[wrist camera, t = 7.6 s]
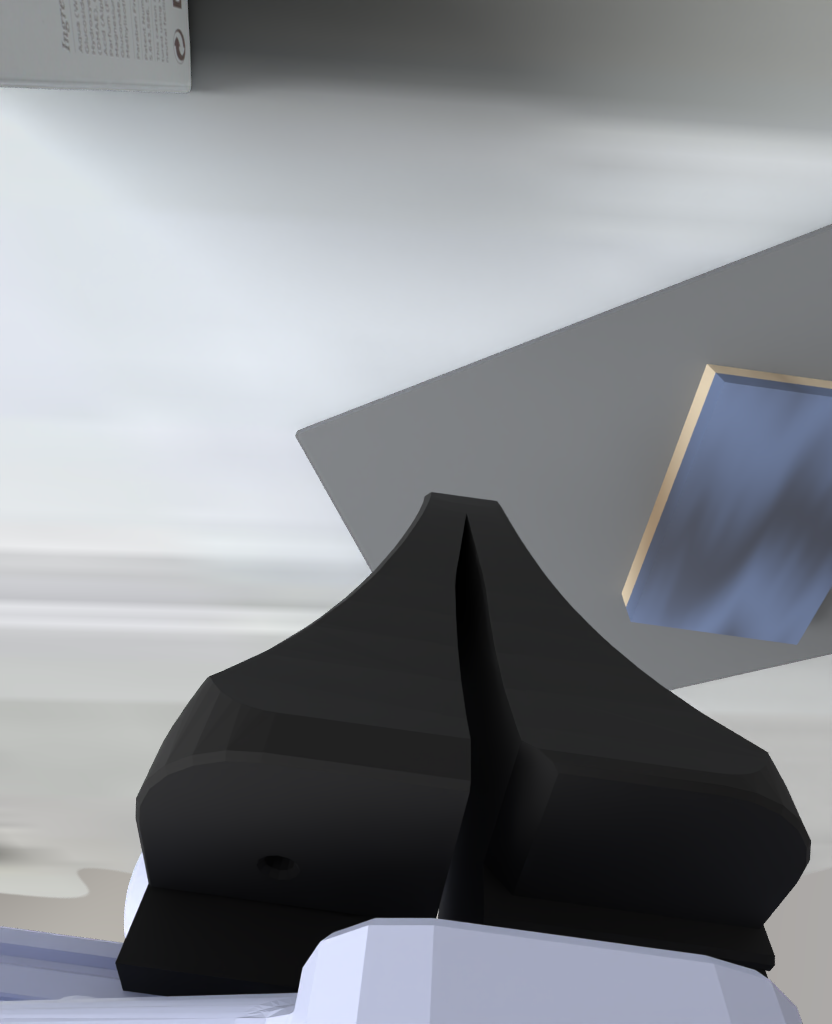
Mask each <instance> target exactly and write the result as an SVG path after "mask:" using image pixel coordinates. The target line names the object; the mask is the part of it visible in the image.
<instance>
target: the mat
mask: <svg viewBox="0 0 832 1024" xmlns="http://www.w3.org/2000/svg"><path fill="white" fill-rule="evenodd" d="M707 364H712V365H719V366H726V367H733V368H740V369H748V370H755V371H762V372H769V373H776V374H784V375H791V376H798V377H805V378H812V379H819V380H827V381H832V224H831V225H828V226H826V227H823V228H820V229H818V230H815V231H813V232H810V233H808V234H805V235H802V236H800V237H797V238H795V239H792V240H789V241H787V242H784V243H782V244H779V245H777V246H774V247H771V248H769V249H766V250H764V251H761V252H758V253H756V254H753V255H751V256H748V257H745V258H743V259H740V260H738V261H735V262H733V263H730V264H727V265H725V266H722V267H720V268H717V269H714V270H712V271H709V272H707V273H704V274H702V275H699V276H696V277H694V278H691V279H689V280H686V281H683V282H681V283H678V284H676V285H673V286H671V287H668V288H665V289H663V290H660V291H658V292H655V293H652V294H650V295H647V296H645V297H642V298H639V299H637V300H634V301H632V302H629V303H627V304H624V305H621V306H619V307H616V308H614V309H611V310H608V311H606V312H603V313H601V314H598V315H596V316H593V317H590V318H588V319H585V320H583V321H580V322H577V323H575V324H572V325H570V326H567V327H565V328H562V329H559V330H557V331H554V332H552V333H549V334H546V335H544V336H541V337H539V338H536V339H533V340H531V341H528V342H526V343H523V344H521V345H518V346H515V347H513V348H510V349H508V350H505V351H502V352H500V353H497V354H495V355H492V356H490V357H487V358H484V359H482V360H479V361H477V362H474V363H471V364H469V365H466V366H464V367H461V368H459V369H456V370H453V371H451V372H448V373H446V374H443V375H440V376H438V377H435V378H433V379H430V380H427V381H425V382H422V383H420V384H417V385H415V386H412V387H409V388H407V389H404V390H402V391H399V392H396V393H394V394H391V395H389V396H386V397H384V398H381V399H378V400H376V401H373V402H371V403H368V404H365V405H363V406H360V407H358V408H355V409H352V410H350V411H347V412H345V413H342V414H340V415H337V416H334V417H332V418H329V419H327V420H324V421H321V422H319V423H316V424H314V425H311V426H309V427H306V428H303V429H301V430H298V431H297V433H296V435H295V436H296V438H297V440H298V442H299V443H300V445H301V447H302V449H303V450H304V452H305V454H306V456H307V458H308V459H309V461H310V463H311V465H312V466H313V468H314V470H315V472H316V474H317V475H318V477H319V479H320V481H321V482H322V484H323V486H324V488H325V490H326V491H327V493H328V495H329V497H330V498H331V500H332V502H333V504H334V506H335V507H336V509H337V511H338V513H339V514H340V516H341V518H342V520H343V522H344V523H345V525H346V527H347V529H348V530H349V532H350V534H351V536H352V537H353V539H354V541H355V543H356V545H357V546H358V548H359V550H360V552H361V553H362V555H363V557H364V559H365V561H366V562H367V564H368V566H369V568H370V569H371V571H372V572H373V571H374V570H375V569H376V568H377V567H378V566H379V565H380V564H381V562H382V561H383V560H384V559H385V558H386V557H387V556H388V554H389V553H390V552H391V551H392V550H393V549H394V547H395V546H396V545H397V544H398V542H399V541H400V539H401V538H402V537H403V535H404V534H405V532H406V531H407V530H408V528H409V527H410V525H411V524H412V522H413V521H414V519H415V517H416V516H417V514H418V512H419V510H420V508H421V506H422V504H423V501H424V496H426V495H428V494H429V493H431V492H436V493H443V494H450V495H457V496H465V497H472V498H479V499H486V500H493V501H498V503H499V504H500V506H501V507H502V509H503V510H504V512H505V514H506V516H507V517H508V519H509V521H510V522H511V524H512V526H513V527H514V529H515V531H516V532H517V534H518V535H519V537H520V539H521V540H522V542H523V543H524V545H525V546H526V548H527V549H528V551H529V552H530V554H531V555H532V557H533V558H534V559H535V561H536V562H537V564H538V565H539V566H540V568H541V569H542V571H543V572H544V573H545V575H546V576H547V577H548V579H549V580H550V581H551V582H552V584H553V585H554V586H555V587H556V589H557V590H558V591H559V592H560V593H561V595H562V596H563V597H564V598H565V599H566V600H567V601H568V603H569V604H570V605H571V606H572V607H573V608H574V609H575V610H576V611H577V612H578V613H579V614H580V615H581V616H582V617H583V618H584V619H585V620H586V621H587V622H588V623H589V624H590V625H591V626H592V627H593V628H594V629H595V630H596V631H597V632H598V633H599V634H600V635H601V636H602V637H603V638H604V639H605V640H606V641H608V642H609V643H610V644H611V645H612V646H613V647H614V648H616V649H617V650H618V651H619V652H620V653H622V654H623V655H624V656H625V657H626V658H628V659H629V660H630V661H631V662H632V663H634V664H635V665H636V666H637V667H638V668H640V669H641V670H642V671H643V672H645V673H646V674H647V675H649V676H650V677H651V678H653V679H654V680H655V681H657V682H658V683H659V684H661V685H662V686H663V687H665V688H666V689H668V690H673V689H677V688H682V687H686V686H691V685H695V684H700V683H704V682H709V681H713V680H717V679H722V678H726V677H731V676H735V675H740V674H744V673H749V672H753V671H758V670H762V669H767V668H771V667H775V666H780V665H784V664H789V663H793V662H798V661H802V660H807V659H811V658H816V657H820V656H824V655H829V654H832V587H831V588H830V590H829V592H828V594H827V595H826V597H825V599H824V600H823V602H822V604H821V605H820V607H819V609H818V610H817V612H816V614H815V615H814V617H813V619H812V621H811V622H810V624H809V626H808V627H807V629H806V631H805V632H804V634H803V636H802V637H801V639H800V641H799V643H798V644H797V645H795V644H787V643H780V642H773V641H766V640H758V639H751V638H744V637H737V636H729V635H722V634H715V633H708V632H700V631H693V630H686V629H679V628H671V627H664V626H657V625H650V624H643V623H635V622H631V621H630V618H629V615H628V612H627V609H626V606H625V603H624V600H623V597H622V591H623V588H624V585H625V583H626V580H627V577H628V575H629V572H630V569H631V567H632V564H633V561H634V559H635V556H636V553H637V551H638V548H639V545H640V542H641V540H642V537H643V534H644V532H645V529H646V526H647V524H648V521H649V518H650V516H651V513H652V510H653V507H654V505H655V502H656V499H657V497H658V494H659V491H660V489H661V486H662V483H663V481H664V478H665V475H666V473H667V470H668V467H669V464H670V462H671V459H672V456H673V454H674V451H675V448H676V446H677V443H678V440H679V438H680V435H681V432H682V429H683V427H684V424H685V421H686V419H687V416H688V413H689V411H690V408H691V405H692V403H693V400H694V397H695V395H696V392H697V389H698V386H699V384H700V381H701V378H702V376H703V373H704V370H705V368H706V365H707Z"/></svg>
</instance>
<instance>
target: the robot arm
mask: <svg viewBox="0 0 832 1024" xmlns="http://www.w3.org/2000/svg"><path fill="white" fill-rule="evenodd" d="M136 822H137V827H138V832H139V838H140V843H141V848H142V853H141V855H140V857H139V859H138V862H137V864H136V866H135V868H134V871H133V874H132V876H131V879H130V883H129V887H128V891H127V896H126V902H125V913H124V931H125V941H124V943H121V942H113V941H106V940H99V939H91V938H84V937H77V936H69V935H62V934H55V933H47V932H40V931H32V930H25V929H18V928H11V927H3V926H0V1024H803V1023H802V1020H801V1018H800V1015H799V1012H798V1009H797V1007H796V1006H795V1005H794V1004H793V1003H792V1002H791V1000H790V999H789V998H788V997H787V996H786V995H784V993H783V992H782V991H781V990H780V989H779V988H778V987H777V986H776V985H775V984H774V983H773V982H772V981H771V980H770V979H768V977H767V974H766V971H770V970H771V969H772V968H773V967H774V966H775V955H774V953H773V950H772V947H771V944H770V942H769V939H768V936H767V933H766V931H765V928H764V925H763V924H764V923H765V922H766V921H767V919H768V918H769V917H770V916H771V914H772V913H773V912H774V911H775V909H776V908H777V907H778V906H779V904H780V903H781V902H782V901H783V899H784V898H785V897H786V896H787V895H788V893H789V892H790V891H791V890H792V888H793V887H794V886H795V885H796V884H797V882H798V880H799V879H800V877H801V875H802V873H803V871H804V870H805V868H806V866H807V864H808V862H809V861H810V848H811V840H810V838H809V836H808V833H807V831H806V829H805V827H804V825H803V823H802V820H801V818H800V816H799V814H798V811H797V809H796V807H795V805H794V802H793V800H792V798H791V796H790V794H789V791H788V789H787V787H786V785H785V783H784V781H783V779H782V778H781V776H780V774H779V772H778V770H777V768H776V767H775V765H774V763H773V761H772V759H771V758H770V756H769V754H768V752H766V751H765V750H763V749H761V748H760V747H758V746H756V745H755V744H753V743H751V742H750V741H748V740H746V739H745V738H743V737H741V736H740V735H738V734H736V733H734V732H733V731H731V730H729V729H728V728H726V727H724V726H723V725H721V724H719V723H718V722H716V721H714V720H713V719H711V718H709V717H708V716H706V715H704V714H703V713H701V712H700V711H698V710H697V709H695V708H694V707H692V706H691V705H689V704H688V703H686V702H685V701H683V700H682V699H681V698H679V697H678V696H676V695H675V694H673V693H672V692H671V691H669V690H668V689H666V688H665V687H663V686H662V685H661V684H659V683H658V682H657V681H655V680H654V679H653V678H651V677H650V676H649V675H647V674H646V673H645V672H643V671H642V670H641V669H640V668H638V667H637V666H636V665H635V664H634V663H632V662H631V661H630V660H629V659H628V658H626V657H625V656H624V655H623V654H622V653H620V652H619V651H618V650H617V649H616V648H614V647H613V646H612V645H611V644H610V643H609V642H608V641H606V640H605V639H604V638H603V637H602V636H601V635H600V634H599V633H598V632H597V631H596V630H595V629H594V628H593V627H592V626H591V625H590V624H589V623H588V622H587V621H586V620H585V619H584V618H583V617H582V616H581V615H580V614H579V613H578V612H577V611H576V610H575V609H574V608H573V607H572V606H571V605H570V604H569V603H568V601H567V600H566V599H565V598H564V597H563V596H562V595H561V593H560V592H559V591H558V590H557V589H556V587H555V586H554V585H553V584H552V582H551V581H550V580H549V579H548V577H547V576H546V575H545V573H544V572H543V571H542V569H541V568H540V566H539V565H538V564H537V562H536V561H535V559H534V558H533V557H532V555H531V554H530V552H529V551H528V549H527V548H526V546H525V545H524V543H523V542H522V540H521V539H520V537H519V535H518V534H517V532H516V531H515V529H514V527H513V526H512V524H511V522H510V521H509V519H508V517H507V516H506V514H505V512H504V510H503V509H502V507H501V506H500V504H499V503H498V501H493V500H486V499H479V498H472V497H465V496H457V495H450V494H443V493H436V492H431V493H429V494H428V495H426V496H424V501H423V504H422V506H421V508H420V510H419V512H418V514H417V516H416V517H415V519H414V521H413V522H412V524H411V525H410V527H409V528H408V530H407V531H406V532H405V534H404V535H403V537H402V538H401V539H400V541H399V542H398V544H397V545H396V546H395V547H394V549H393V550H392V551H391V552H390V553H389V554H388V556H387V557H386V558H385V559H384V560H383V561H382V562H381V564H380V565H379V566H378V567H377V568H376V569H375V570H374V571H373V572H372V573H371V574H370V575H369V576H368V577H367V578H366V579H365V580H364V581H363V582H362V583H361V584H360V585H359V586H358V587H357V588H356V589H355V590H354V591H353V592H351V593H350V594H349V595H348V596H347V597H346V598H345V599H343V600H342V601H341V602H340V603H338V604H337V605H336V606H334V607H333V608H332V609H331V610H329V611H328V612H327V613H325V614H324V615H323V616H321V617H320V618H319V619H317V620H316V621H314V622H313V623H312V624H310V625H309V626H307V627H306V628H304V629H302V630H301V631H299V632H297V633H296V634H294V635H292V636H291V637H289V638H287V639H286V640H284V641H283V642H281V643H279V644H278V645H276V646H274V647H273V648H271V649H269V650H267V651H265V652H263V653H261V654H259V655H257V656H255V657H252V658H250V659H248V660H246V661H244V662H241V663H239V664H237V665H235V666H233V667H230V668H228V669H226V670H224V671H221V672H219V673H217V674H214V675H212V676H209V677H208V678H207V679H206V680H205V681H204V683H203V684H202V685H201V686H200V688H199V689H198V691H197V692H196V693H195V695H194V696H193V697H192V699H191V700H190V701H189V703H188V704H187V706H186V707H185V709H184V710H183V712H182V713H181V715H180V716H179V718H178V719H177V721H176V722H175V723H174V725H173V726H172V728H171V730H170V731H169V733H168V735H167V736H166V738H165V740H164V741H163V743H162V745H161V747H160V749H159V751H158V754H157V756H156V758H155V760H154V762H153V764H152V766H151V768H150V770H149V772H148V775H147V777H146V779H145V781H144V783H143V785H142V787H141V789H140V791H139V793H138V796H137V798H136ZM438 909H439V913H438ZM437 913H438V919H436V916H437ZM765 970H766V971H765Z"/></svg>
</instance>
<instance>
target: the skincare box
mask: <svg viewBox="0 0 832 1024" xmlns="http://www.w3.org/2000/svg"><path fill="white" fill-rule="evenodd" d="M0 87H16V88H39V89H63V90H110V91H140V92H170V93H189V91H190V90H191V58H190V36H189V22H188V0H0Z"/></svg>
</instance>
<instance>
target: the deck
mask: <svg viewBox="0 0 832 1024" xmlns="http://www.w3.org/2000/svg"><path fill="white" fill-rule="evenodd" d="M831 587H832V381H827V380H819V379H812V378H805V377H798V376H791V375H784V374H776V373H769V372H762V371H755V370H748V369H740V368H733V367H726V366H719V365H712V364H707V365H706V368H705V370H704V373H703V376H702V378H701V381H700V384H699V386H698V389H697V392H696V395H695V397H694V400H693V403H692V405H691V408H690V411H689V413H688V416H687V419H686V421H685V424H684V427H683V429H682V432H681V435H680V438H679V440H678V443H677V446H676V448H675V451H674V454H673V456H672V459H671V462H670V464H669V467H668V470H667V473H666V475H665V478H664V481H663V483H662V486H661V489H660V491H659V494H658V497H657V499H656V502H655V505H654V507H653V510H652V513H651V516H650V518H649V521H648V524H647V526H646V529H645V532H644V534H643V537H642V540H641V542H640V545H639V548H638V551H637V553H636V556H635V559H634V561H633V564H632V567H631V569H630V572H629V575H628V577H627V580H626V583H625V585H624V588H623V591H622V597H623V600H624V603H625V606H626V609H627V612H628V615H629V618H630V621H631V622H635V623H643V624H650V625H657V626H664V627H671V628H679V629H686V630H693V631H700V632H708V633H715V634H722V635H729V636H737V637H744V638H751V639H758V640H766V641H773V642H780V643H787V644H795V645H797V644H798V643H799V641H800V639H801V637H802V636H803V634H804V632H805V631H806V629H807V627H808V626H809V624H810V622H811V621H812V619H813V617H814V615H815V614H816V612H817V610H818V609H819V607H820V605H821V604H822V602H823V600H824V599H825V597H826V595H827V594H828V592H829V590H830V588H831Z"/></svg>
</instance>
